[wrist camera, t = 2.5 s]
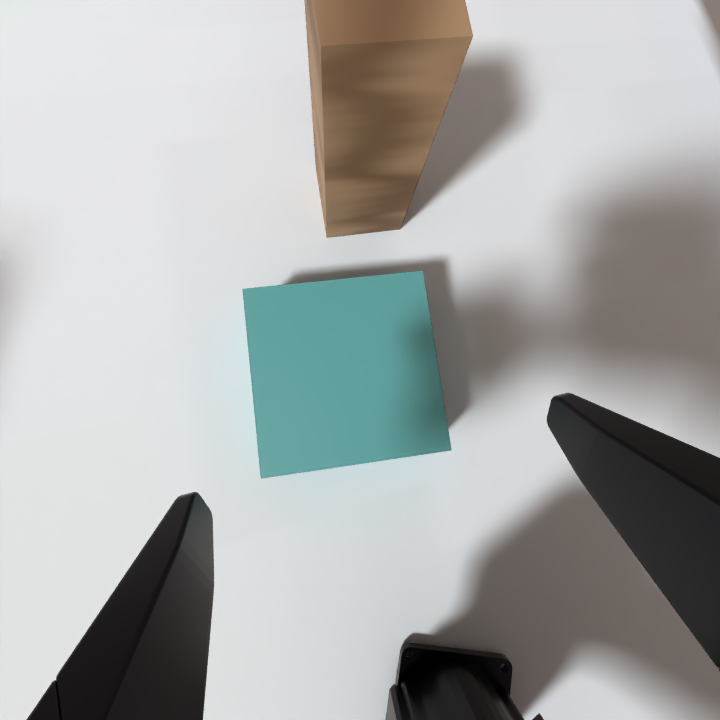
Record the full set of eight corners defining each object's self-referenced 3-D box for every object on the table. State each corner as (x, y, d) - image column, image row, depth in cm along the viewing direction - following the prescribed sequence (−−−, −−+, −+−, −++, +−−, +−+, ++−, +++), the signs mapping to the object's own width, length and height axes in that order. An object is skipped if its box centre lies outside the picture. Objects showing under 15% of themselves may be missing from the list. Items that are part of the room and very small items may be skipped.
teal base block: (408, 292, 25) (422, 270, 21) (431, 443, 23) (451, 450, 19) (257, 309, 24) (242, 288, 20) (273, 466, 23) (260, 478, 19)
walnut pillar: (387, 161, 25) (444, -92, 13) (400, 229, 25) (472, 36, 12) (315, 168, 25) (298, -88, 12) (326, 237, 24) (320, 46, 12)
